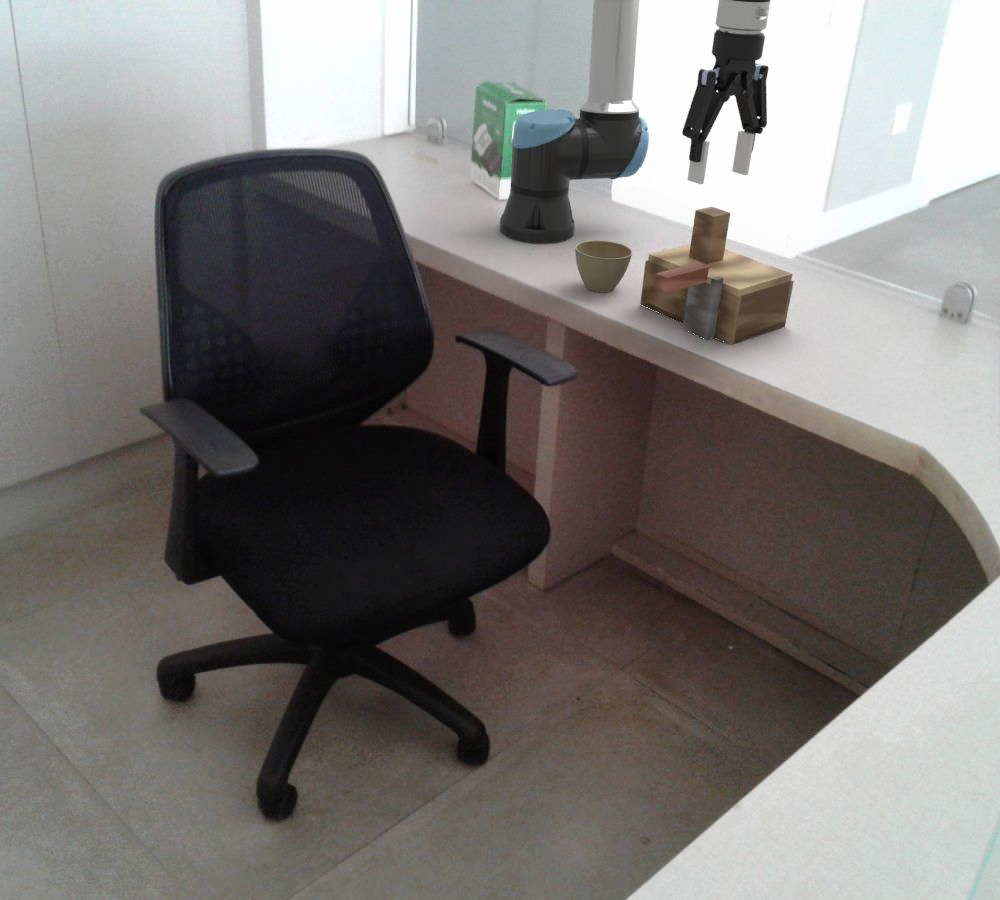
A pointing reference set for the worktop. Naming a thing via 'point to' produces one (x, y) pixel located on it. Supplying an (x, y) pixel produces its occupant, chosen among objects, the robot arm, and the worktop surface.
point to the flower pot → (602, 264)
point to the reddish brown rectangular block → (681, 277)
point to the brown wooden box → (719, 307)
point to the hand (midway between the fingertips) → (718, 177)
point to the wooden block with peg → (720, 256)
